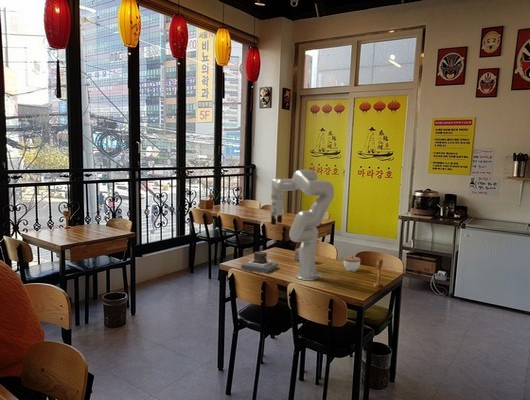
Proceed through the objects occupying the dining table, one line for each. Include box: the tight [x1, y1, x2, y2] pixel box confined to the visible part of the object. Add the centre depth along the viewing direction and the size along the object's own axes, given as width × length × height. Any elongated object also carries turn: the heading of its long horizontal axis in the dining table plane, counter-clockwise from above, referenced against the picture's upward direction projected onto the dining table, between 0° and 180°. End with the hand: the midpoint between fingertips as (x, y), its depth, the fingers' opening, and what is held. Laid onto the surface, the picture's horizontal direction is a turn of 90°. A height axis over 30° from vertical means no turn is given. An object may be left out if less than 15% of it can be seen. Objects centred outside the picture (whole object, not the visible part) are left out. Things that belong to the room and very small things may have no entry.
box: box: [253, 251, 268, 264], centre depth 258 cm, size 6×6×7 cm
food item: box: [294, 247, 300, 261], centre depth 279 cm, size 14×8×10 cm, turn 45°
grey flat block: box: [240, 259, 279, 274], centre depth 258 cm, size 18×16×4 cm
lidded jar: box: [343, 255, 362, 272], centre depth 259 cm, size 11×11×9 cm
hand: (276, 223), depth 265 cm, fingers open, 9 cm apart
